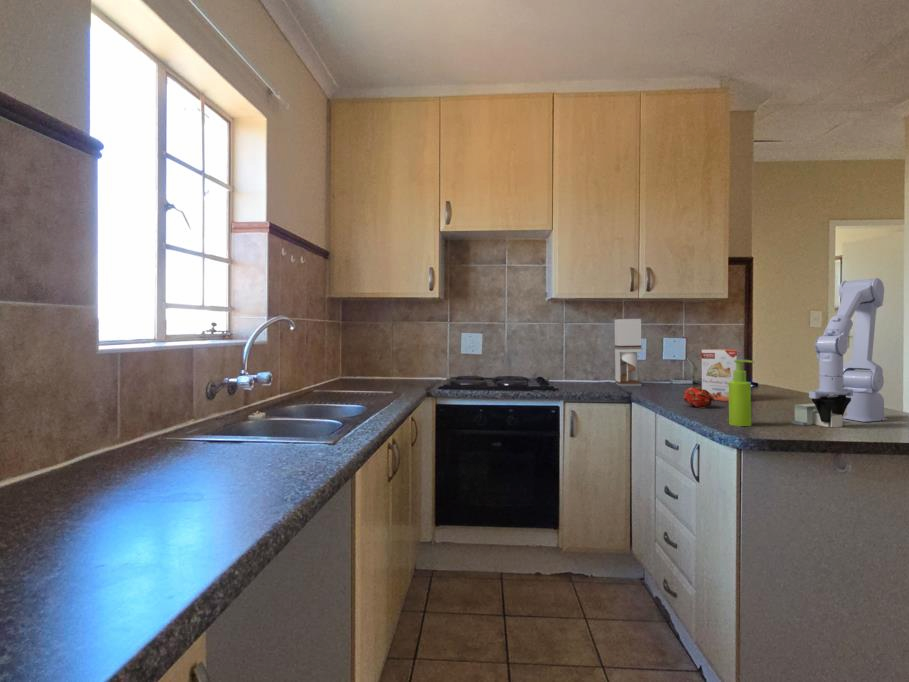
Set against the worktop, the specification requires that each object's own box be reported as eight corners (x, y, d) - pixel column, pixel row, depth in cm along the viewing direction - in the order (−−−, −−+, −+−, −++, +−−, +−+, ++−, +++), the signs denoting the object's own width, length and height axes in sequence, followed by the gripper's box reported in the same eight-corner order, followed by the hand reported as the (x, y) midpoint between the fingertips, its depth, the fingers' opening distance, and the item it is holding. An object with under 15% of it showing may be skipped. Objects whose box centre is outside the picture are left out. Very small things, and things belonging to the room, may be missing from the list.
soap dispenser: (755, 427, 147) (754, 360, 147) (728, 425, 151) (727, 360, 151) (755, 424, 152) (754, 359, 152) (729, 422, 156) (729, 359, 156)
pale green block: (823, 420, 156) (823, 402, 156) (836, 422, 152) (836, 404, 152) (790, 423, 153) (790, 405, 153) (803, 425, 149) (802, 407, 149)
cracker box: (701, 399, 207) (700, 349, 206) (708, 397, 210) (707, 348, 210) (737, 402, 196) (736, 349, 195) (743, 401, 199) (743, 349, 199)
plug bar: (810, 421, 156) (810, 409, 156) (842, 426, 146) (842, 414, 146) (800, 421, 155) (800, 410, 155) (831, 427, 145) (831, 415, 145)
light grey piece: (619, 386, 259) (618, 319, 258) (615, 383, 270) (614, 319, 269) (641, 386, 258) (641, 318, 257) (637, 383, 268) (636, 319, 267)
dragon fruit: (683, 408, 193) (712, 417, 183) (673, 397, 189) (702, 406, 179) (693, 390, 195) (722, 398, 184) (684, 379, 191) (713, 386, 180)
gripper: (836, 373, 153) (836, 417, 153) (799, 375, 149) (799, 420, 149) (860, 375, 146) (860, 421, 146) (822, 377, 142) (822, 424, 142)
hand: (831, 421), depth 147 cm, fingers closed on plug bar, 4 cm apart
